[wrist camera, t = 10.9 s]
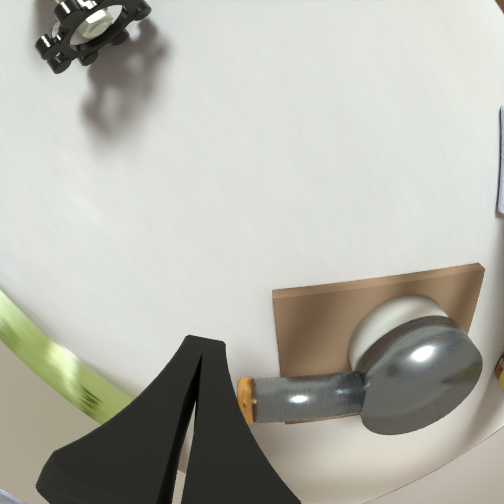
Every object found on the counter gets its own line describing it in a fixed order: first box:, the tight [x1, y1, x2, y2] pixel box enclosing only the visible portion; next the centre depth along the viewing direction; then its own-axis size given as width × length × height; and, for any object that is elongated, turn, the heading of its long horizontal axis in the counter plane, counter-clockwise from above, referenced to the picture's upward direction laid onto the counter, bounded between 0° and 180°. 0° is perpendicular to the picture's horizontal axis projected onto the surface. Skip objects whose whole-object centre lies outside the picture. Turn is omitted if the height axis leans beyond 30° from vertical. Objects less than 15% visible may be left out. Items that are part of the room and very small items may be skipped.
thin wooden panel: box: [272, 263, 485, 424], centre depth 21 cm, size 16×14×4 cm
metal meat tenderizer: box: [237, 315, 483, 435], centre depth 17 cm, size 16×9×3 cm, turn 94°
